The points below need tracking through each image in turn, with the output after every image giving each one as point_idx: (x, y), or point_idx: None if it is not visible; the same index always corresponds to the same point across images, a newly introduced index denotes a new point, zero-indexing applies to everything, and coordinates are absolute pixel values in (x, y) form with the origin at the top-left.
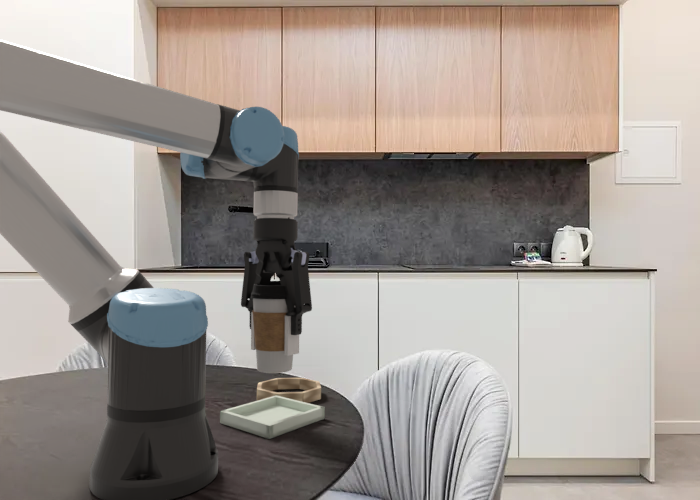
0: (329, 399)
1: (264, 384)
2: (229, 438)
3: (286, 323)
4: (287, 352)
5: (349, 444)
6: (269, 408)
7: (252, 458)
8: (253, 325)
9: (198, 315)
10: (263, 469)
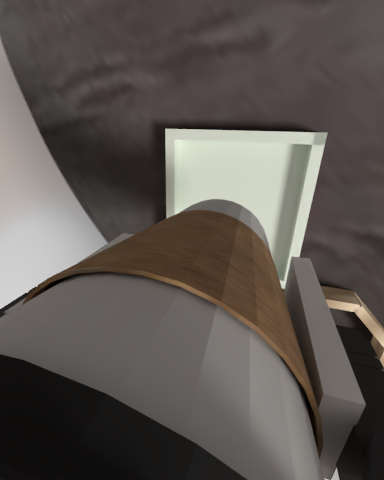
0: None
1: (379, 350)
2: (234, 79)
3: None
4: (119, 237)
5: (79, 188)
6: (276, 247)
7: (130, 37)
8: (312, 320)
9: None
10: (86, 16)
